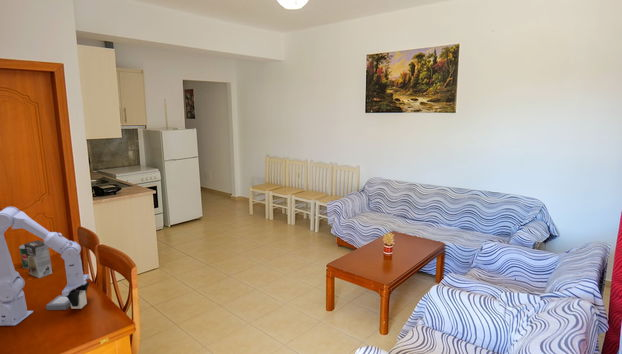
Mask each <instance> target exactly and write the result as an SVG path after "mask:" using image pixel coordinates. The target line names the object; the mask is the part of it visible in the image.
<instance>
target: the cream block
mask: <svg viewBox="0 0 622 354" xmlns="http://www.w3.org/2000/svg"><path fill="white" fill-rule="evenodd" d="M75 290H76V289H75ZM76 291H80V292H79V298H78V300H79V304H78V306H72V304H71V306H70V308H71V309H76V310H77V309H78V310H79V309H81V310H82V309H83V308H84V307H85V306H86V305H87V304H88V302H87V291H86V292H85V290H76Z"/></svg>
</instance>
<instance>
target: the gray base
mask: <svg viewBox="0 0 622 354" xmlns="http://www.w3.org/2000/svg"><path fill="white" fill-rule="evenodd" d="M45 308H46V311H66V310H68V309H69V308H71V302H70V301H69V299H68V298H67V297H66V296H62V294H61V295H60V294H59V295H57V296H56V297H55V298H54V299H52V300H51V301H49V302H48V303H46V305H45Z"/></svg>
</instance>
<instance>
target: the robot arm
mask: <svg viewBox="0 0 622 354" xmlns="http://www.w3.org/2000/svg"><path fill="white" fill-rule="evenodd" d="M10 227H11V230H17V229H24V230H25V231H27V232H29V233H30V234H33V235H34V236H36V237H38V238H39V239H42V240H43V242H44V244H45V245H47V246H48V247H49V249H51V250H53V251H54V252H56V253H58V254H60V257H61V259H62V260H64V268H65V277H66V282H67V284H66V286H65V287H64V288H63V290H62V291H61V295H62V296H66V297H67V298H68V299H69V301H70V302H71V304H72V306H78V304H79V300H78V298H79V292H80V291H76V290H85V292H86V293H87V290H88V288H89V285H90V281H87V280H89V279H90V274H88V273H87V274H86V273H85V274H84V271H83V264H82V259H81V254H80V253H81V250H82V246H81V245H80V244H79V243H78V242H77V241H73V240H70V239H68V238H66V237H64V236H63V234H62V233H61V232H57V231H49V230H48V229H47V228H45V227H44V226H42V225H41V224H40V223H38V222H37V221H35V220H33V219H32V218H31V217H30V216H29V215H27V214H26V213H25V212H24V211H22V210H20V209H18V208H17V207H15V206H6V207H4V208H3V209H2V210H0V326H17V325H18V324H20V323H21V322H22V321H23V320H25V319H26V318H28V317H30V315H31V314H33V313H34V310H28V307H27V303H26V302H27V301H26V297H25V292H24V290H23V288H24V287H25V284H26V282H25V279H24V278H23V277H22V276H21V275H20V273H19V272H18V271H16V269H15V266H14V264H13V260H12V255H11V253H10V251H9V250H10V249H9V248H8V243H7V241H6V238H5V233H6V231H7V230H8V229H9V228H10Z"/></svg>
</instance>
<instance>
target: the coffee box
mask: <svg viewBox="0 0 622 354" xmlns="http://www.w3.org/2000/svg"><path fill="white" fill-rule="evenodd" d="M23 245H24V246H25V251H26V257H27V262H28V268H27V269H28V274H29V275H30V276H33V277H36V278H38V279H40V278H43V277H47V276H49V275H52V274H53V269H52V261H51V254H50V247H48V246H47V245H45V244H44V240H43V241H42V240H40V239H37V240H34V241H29V242H26V243H24V244H23Z"/></svg>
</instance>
